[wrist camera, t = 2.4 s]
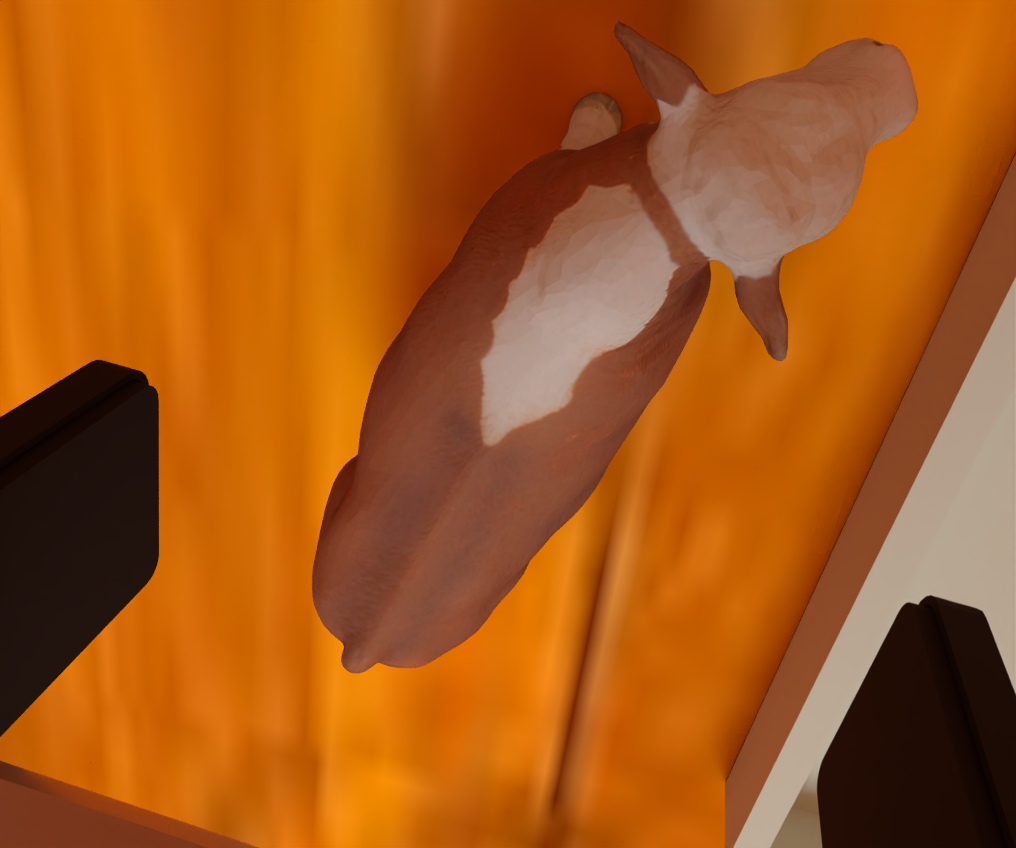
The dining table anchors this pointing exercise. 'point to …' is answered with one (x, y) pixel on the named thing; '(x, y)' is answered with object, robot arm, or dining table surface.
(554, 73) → the dining table surface
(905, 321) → the dining table surface
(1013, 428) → the tray
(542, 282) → the bull figurine
